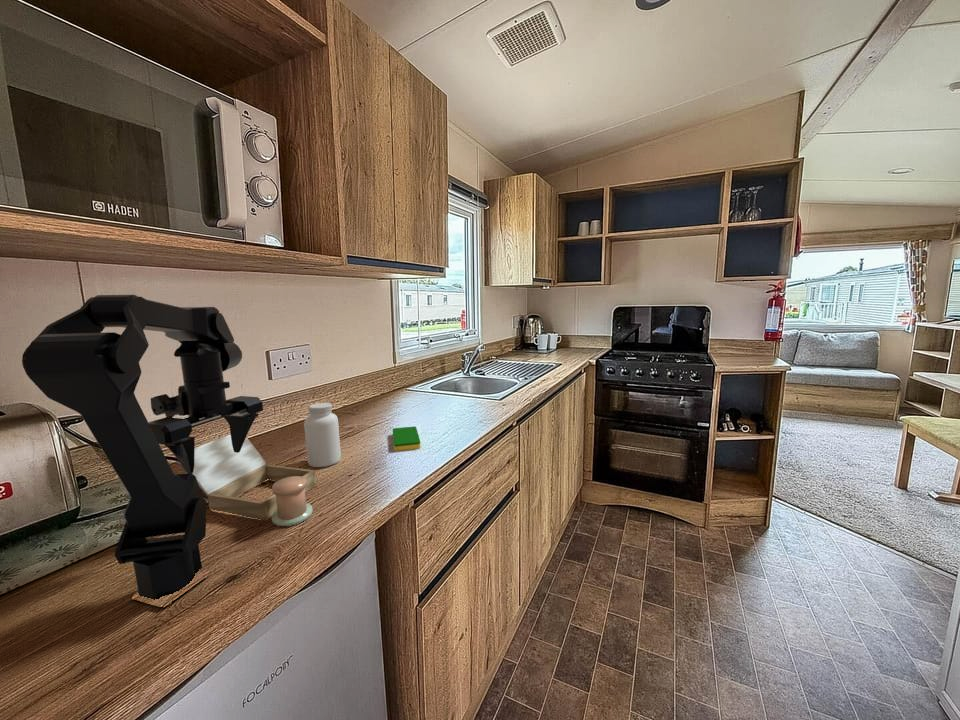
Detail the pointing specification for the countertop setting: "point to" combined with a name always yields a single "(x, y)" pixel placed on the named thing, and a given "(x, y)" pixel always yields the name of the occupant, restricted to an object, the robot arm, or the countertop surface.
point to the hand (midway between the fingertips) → (215, 461)
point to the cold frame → (239, 477)
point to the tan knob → (290, 497)
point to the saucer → (292, 521)
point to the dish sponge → (406, 438)
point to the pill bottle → (322, 436)
